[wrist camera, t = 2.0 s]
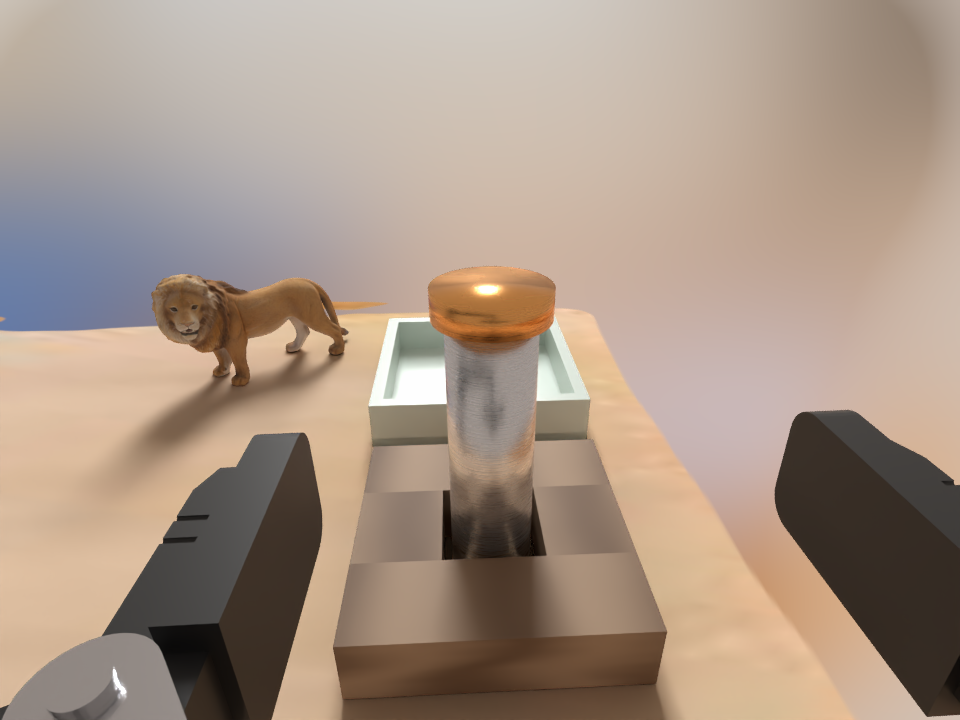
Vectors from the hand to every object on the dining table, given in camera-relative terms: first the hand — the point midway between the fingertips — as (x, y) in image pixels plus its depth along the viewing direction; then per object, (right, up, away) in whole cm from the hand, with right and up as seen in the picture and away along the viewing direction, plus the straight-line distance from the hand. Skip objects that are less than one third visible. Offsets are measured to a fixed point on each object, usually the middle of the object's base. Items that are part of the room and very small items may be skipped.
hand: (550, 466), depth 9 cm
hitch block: (-1, -8, +18) cm, 19 cm away
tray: (-2, 0, +33) cm, 33 cm away
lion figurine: (-18, +1, +36) cm, 40 cm away
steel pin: (-1, -8, +18) cm, 19 cm away
